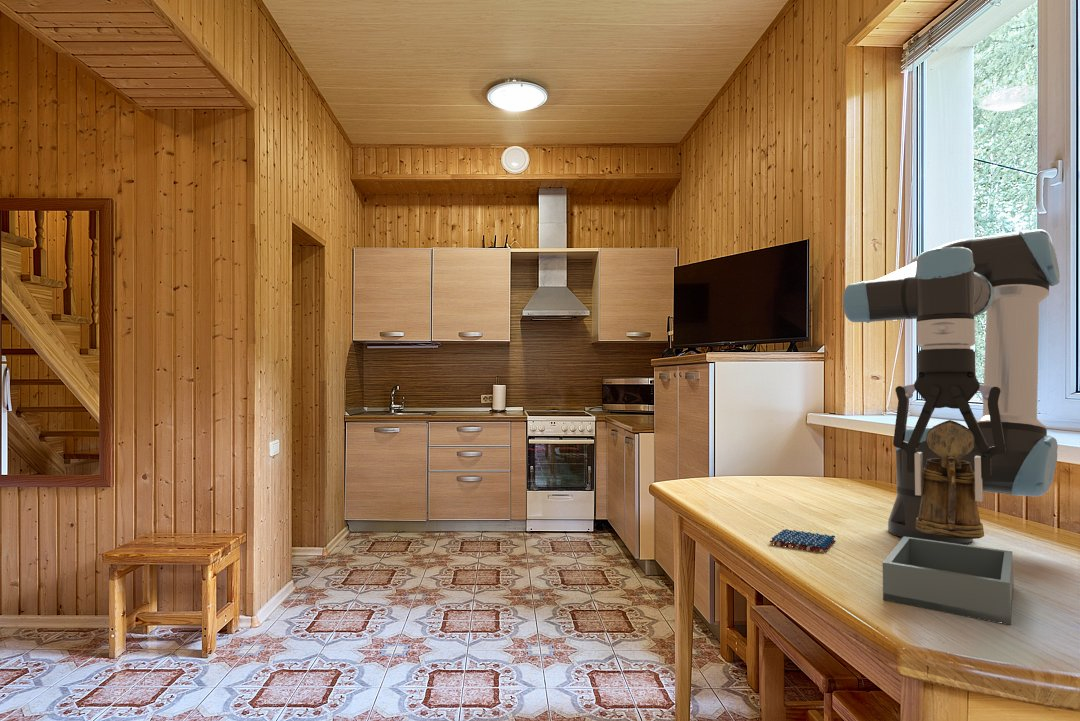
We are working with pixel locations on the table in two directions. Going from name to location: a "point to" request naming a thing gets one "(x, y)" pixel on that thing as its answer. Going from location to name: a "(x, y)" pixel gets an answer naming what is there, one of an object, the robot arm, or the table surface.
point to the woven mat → (803, 540)
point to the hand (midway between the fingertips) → (948, 496)
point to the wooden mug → (949, 485)
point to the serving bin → (950, 578)
